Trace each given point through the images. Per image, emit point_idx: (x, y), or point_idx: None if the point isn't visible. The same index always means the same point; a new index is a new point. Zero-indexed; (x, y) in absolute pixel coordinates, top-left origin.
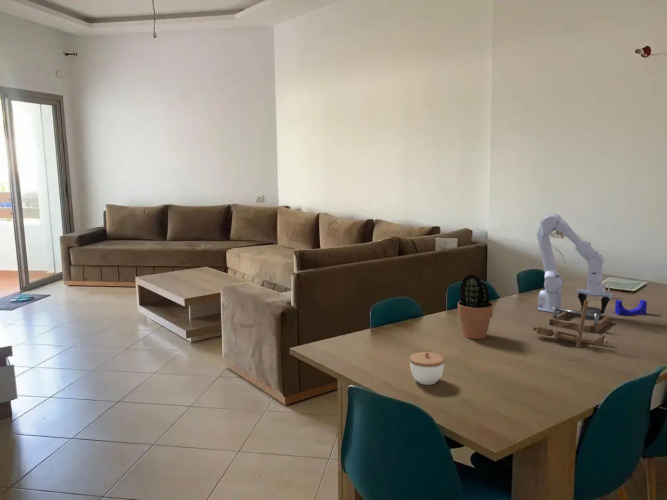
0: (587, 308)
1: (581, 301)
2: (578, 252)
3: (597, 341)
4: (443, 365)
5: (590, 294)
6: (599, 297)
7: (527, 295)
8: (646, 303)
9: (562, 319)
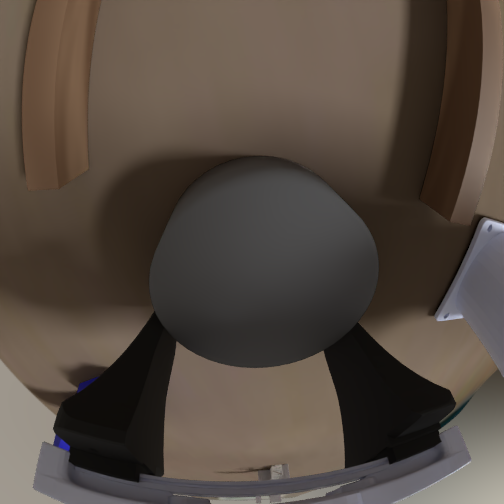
0: (311, 307)
1: (395, 369)
2: None
3: None
4: None
5: (332, 501)
6: (279, 466)
7: (479, 381)
8: (54, 440)
9: (451, 26)
